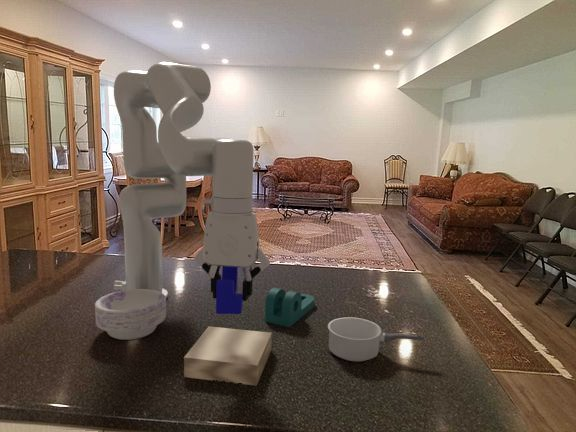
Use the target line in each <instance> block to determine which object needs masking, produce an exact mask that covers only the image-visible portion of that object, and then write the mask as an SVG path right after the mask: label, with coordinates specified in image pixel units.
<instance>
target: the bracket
mask: <svg viewBox="0 0 576 432" xmlns="http://www.w3.org/2000/svg"><path fill="white" fill-rule="evenodd" d="M265 299H266V300H265V313H264V322H266V323H268V324H269V323H270V324H274V325H278V326H280V327H281V326H282V327H286V328H291V327H292V326H293V325H295V324H296V323H297V322H298V321H299V320H301V319H302V317H304V316H305V315H306V314H308V313H309V312H310V310H312V309H314V307H315V297H314V296H313V295H310V294H307V293H301V292H299V291H298V292H297V291H294V290H288V291H287V292H286V291H285V290H284V289H282V288H279V287H272V288H271V289H269V291H268V293H267V295H266V298H265Z"/></svg>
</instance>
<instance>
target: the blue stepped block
mask: <svg viewBox="0 0 576 432" xmlns="http://www.w3.org/2000/svg"><path fill="white" fill-rule="evenodd" d="M221 267H222V268H221V279H217V282H216V298H215V300H216V302H215V312H216V313H215V314H216V315H217V314H218V315H220V314H221V315H242V309H243V304H244V303H243V302H244V301H243V296H242V292H241V293H240V292H238V278H239V277H238V276H239V275H238V272H239V271H238V270H239V269H238V268H239V267H226V266H221Z"/></svg>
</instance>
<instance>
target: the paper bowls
mask: <svg viewBox="0 0 576 432" xmlns="http://www.w3.org/2000/svg"><path fill="white" fill-rule="evenodd" d="M94 314H95V315H94V316H95V317H94V318H95V324H96V327H97V328H99V329H100V330H101V331H105V332H106V333H107V334H108V335H109V337H111V338H114V339H117V340H122V341H124V340H127V341H128V340H136V339H141V338H144V337H147V336H149V335H150V334H152V333H153V332H154V331H155V330H156V328H157V326H158V325H159V324H161V323H163V322H164V321H165V320H166V317H167V299H166V297H165V295H164V294H163V293H161V292H159V291H155V290H149V289H131V290H123V291H121V290H119V291H118V290H117V291H114V292H112V293H108V294H106V295H103V296H101V297H99V298H98V299H97V300H96V301H95V303H94Z"/></svg>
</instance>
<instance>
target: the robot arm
mask: <svg viewBox="0 0 576 432" xmlns="http://www.w3.org/2000/svg"><path fill="white" fill-rule="evenodd" d="M113 84H114V85H113V99H114V104H115V107H116V110H117V112H118V116H119V118H120V123H121V129H122V130H121V133H122V154H123V155H122V156H123V157H122V158H123V165H124V167H123V168H124V171H125V174H126V175H127V176H128V177H130V178H132V179H140V180H141V179H144V180H145V179H147V180H151V179H163V180H164V182H163V183H162V182H161V183H159V182H158V183H154V182H153V183H136V184H135V183H133V184H130V185H128V186H125V187H124V188H123V189H121V191H120V193H119V196H118V203H119V208H120V213H121V219H122V224H123V240H124V267H125V268H124V271H125V281H122V280H117V279H116V280H114V282H113V287H112V288H113V290H114V291H115V290H116V291H118V290H119V291H123V290H131V289H149V290H155V291H159V292H161V293H163V294H164V295H165V297H166V300H167V299H168V297H169V292H168V290H167V289H165V288H163V268H162V267H163V264H162V263H163V262H162V261H163V260H162V259H163V258H162V253H163V251H162V234H161V232H160V230H159V229H158V228H157V226H156V225H155V224H154V223H153V220H157V219H163V218H165V219H166V218H175V217H179V216H181V215H182V214H184V212H185V210H186V207H187V177H203V176H205V177H207V176H209V177H210V176H211V177H212V178H211V179H212V188H211V189H212V191H211V192H212V195H211V196H210V197H209V198H208V197H207V198H205V200H204V204H205V206H209V207H210V209H211V210H212V211H208V212H207V215H206V219H205V226H204V227H205V228H204V233H203V235H204V236H203V245H202V248H201V249H200V250H199V251H198V253H196V255H195V256H194V258H193V259H194V262H195V263H197V264H198V265H199V266H200V267H202V269H203V271H205V273H206V274H207V275H208V278H210V293H212V298H213V299H216V282H217V279H222V274H220V270H221V267H222V266H226V267H238V268H240V269H242V272H243V275H244V280H242V292H241V293H242V296H243V302H247V300H249V298H250V296H252V295H253V282H254V281H253V280H254V278H255V277H256V276H257V275H259V274H260V272H262V271H263V270H265V269H266V268H268V267H269V265H270V264H271V261H270V259H269V258H268V257H267V255H266V254H265V253H264V252H263V251H262V249H261V248H260V241H259V240H260V239H259V227H258V220H257V216H256V213H255V212H253V198H254V197H253V190H254V189H253V187H254V186H253V185H254V147H253V146H254V145H253V143H251V141H249V140H246V139H231V138H225V137H224V138H223V137H209V136H203V137H202V136H184V135H183V134H182V132H185V131H187V130H189V129H192V128H193V127H194V126H196V125H197V124H198V123H199V122H200V120H201V119H202V118H203V115H204V110H205V109H204V104H203V103H205V102H206V101H207V100H208V99H209V96H210V95H211V91H212V90H211V88H212V86H211V79H210V77H209V75H208V74H207V72H206V71H205V70H204V69H203V68H201V67H199V66H195V65H188V64H181V63H176V62H175V63H174V62H170V61H169V62H166V61H162V62H157V63H155V64H152V65H151V66H150V67H149V69H148V70H147V71H143V70H126V71H122V72H120V73H119V74H117V75H116V77H115V80H114V83H113ZM146 108H153V109H159V110H160V111H161V112H162V116H161V119H160V121H159V124H158V127H157V125H156V121H155V120H154V118H153V116H152V115H151V114H150V112H149V111H148V110H147V109H146ZM257 261H259V264H257V265H256V266H255V267H254V265H255V264H256V262H257Z"/></svg>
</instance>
